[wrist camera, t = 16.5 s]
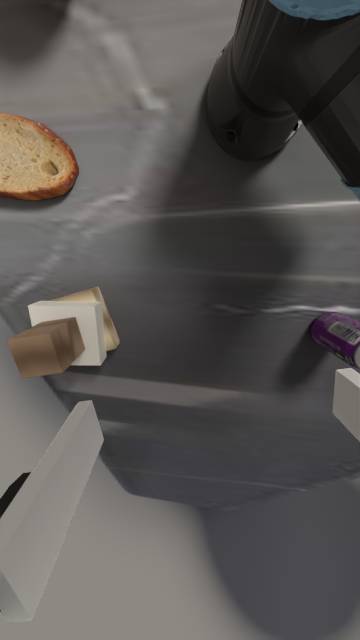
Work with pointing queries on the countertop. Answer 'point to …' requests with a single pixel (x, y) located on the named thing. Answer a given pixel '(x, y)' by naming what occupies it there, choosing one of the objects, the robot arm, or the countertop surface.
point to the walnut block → (47, 347)
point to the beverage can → (338, 336)
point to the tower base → (96, 296)
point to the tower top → (88, 323)
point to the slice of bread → (33, 160)
